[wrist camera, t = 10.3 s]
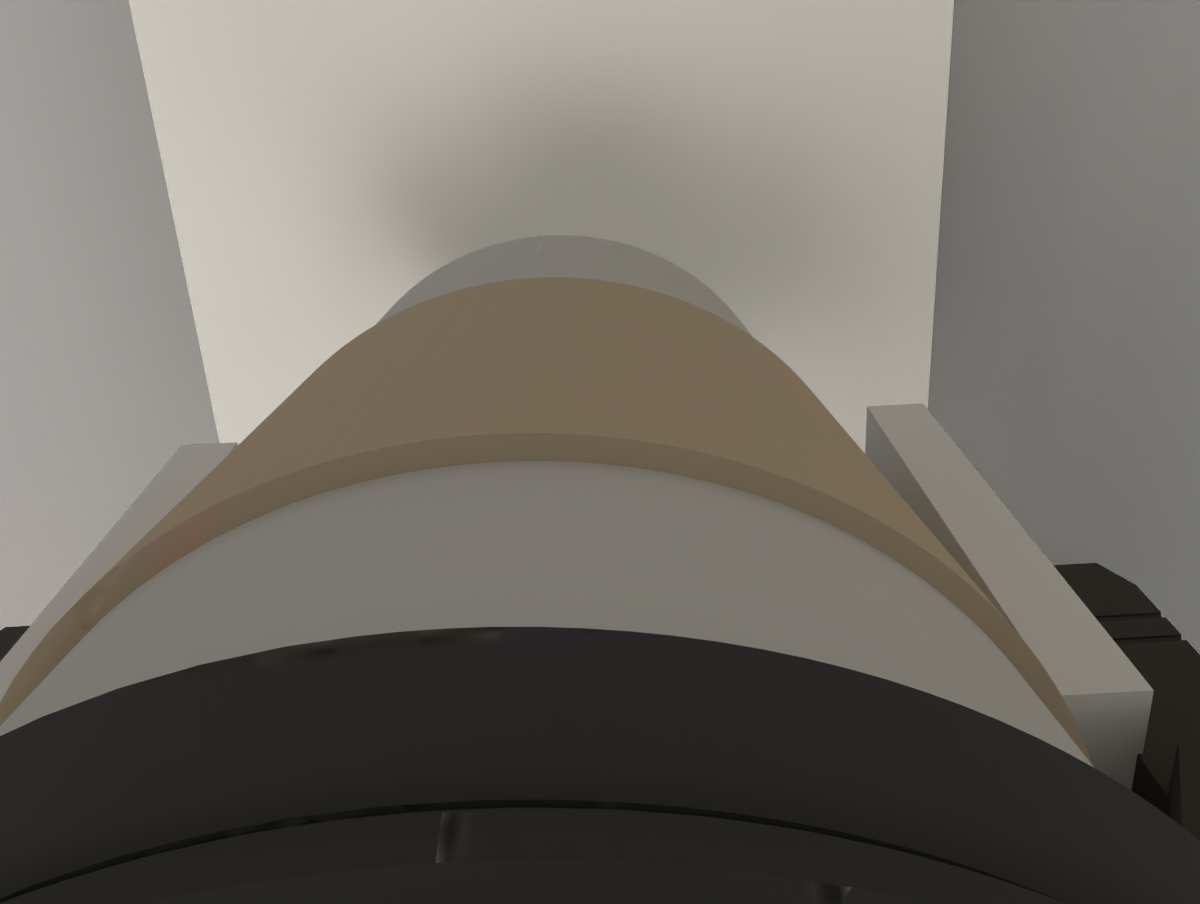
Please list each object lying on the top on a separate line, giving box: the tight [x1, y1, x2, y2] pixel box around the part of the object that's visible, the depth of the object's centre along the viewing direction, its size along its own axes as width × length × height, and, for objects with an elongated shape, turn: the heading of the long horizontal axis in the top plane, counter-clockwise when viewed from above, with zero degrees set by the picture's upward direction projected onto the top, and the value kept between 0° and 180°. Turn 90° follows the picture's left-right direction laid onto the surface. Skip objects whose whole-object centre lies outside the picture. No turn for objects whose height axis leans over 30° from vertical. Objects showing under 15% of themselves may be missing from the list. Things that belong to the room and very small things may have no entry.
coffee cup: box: [0, 235, 1200, 904], centre depth 11 cm, size 9×9×15 cm
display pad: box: [129, 0, 954, 453], centre depth 25 cm, size 16×16×1 cm
